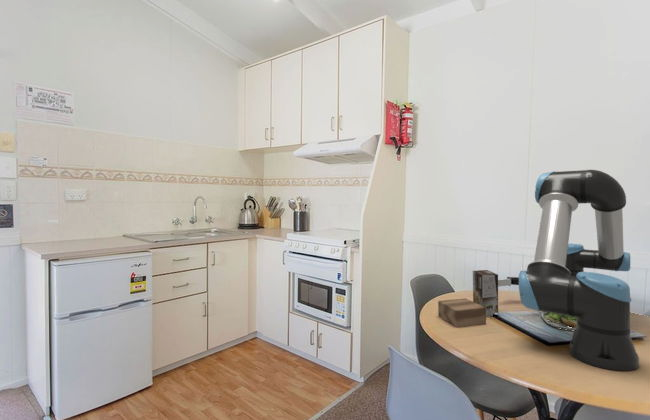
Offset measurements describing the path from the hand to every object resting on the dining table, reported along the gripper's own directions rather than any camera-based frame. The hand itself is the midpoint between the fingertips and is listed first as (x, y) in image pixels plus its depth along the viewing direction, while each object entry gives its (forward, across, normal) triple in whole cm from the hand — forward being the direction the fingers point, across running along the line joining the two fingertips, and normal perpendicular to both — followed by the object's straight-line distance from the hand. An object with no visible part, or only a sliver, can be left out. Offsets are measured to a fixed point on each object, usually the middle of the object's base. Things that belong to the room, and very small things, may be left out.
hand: (508, 287), depth 139 cm
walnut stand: (+25, -5, -9) cm, 27 cm away
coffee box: (+11, 0, -9) cm, 14 cm away
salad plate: (-10, -18, -10) cm, 23 cm away
